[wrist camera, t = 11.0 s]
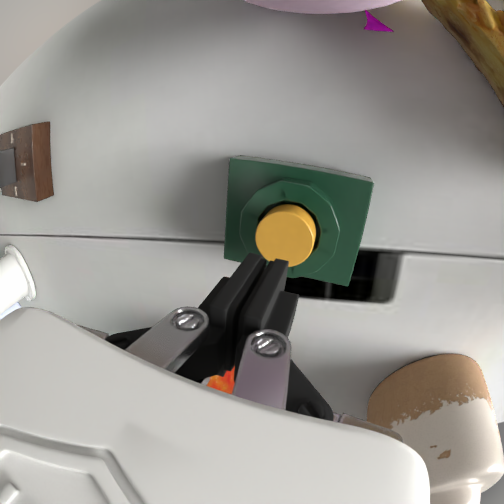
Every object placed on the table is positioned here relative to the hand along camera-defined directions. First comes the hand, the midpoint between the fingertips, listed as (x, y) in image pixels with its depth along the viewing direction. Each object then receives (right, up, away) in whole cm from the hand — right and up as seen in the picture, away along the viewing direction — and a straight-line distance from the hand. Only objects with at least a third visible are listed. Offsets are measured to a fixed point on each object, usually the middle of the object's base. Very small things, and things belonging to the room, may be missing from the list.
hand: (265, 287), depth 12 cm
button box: (+3, +4, +10) cm, 11 cm away
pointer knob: (-34, +14, +14) cm, 39 cm away
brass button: (+2, +3, +6) cm, 7 cm away
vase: (+20, -16, +13) cm, 29 cm away
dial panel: (-33, +15, +17) cm, 40 cm away
